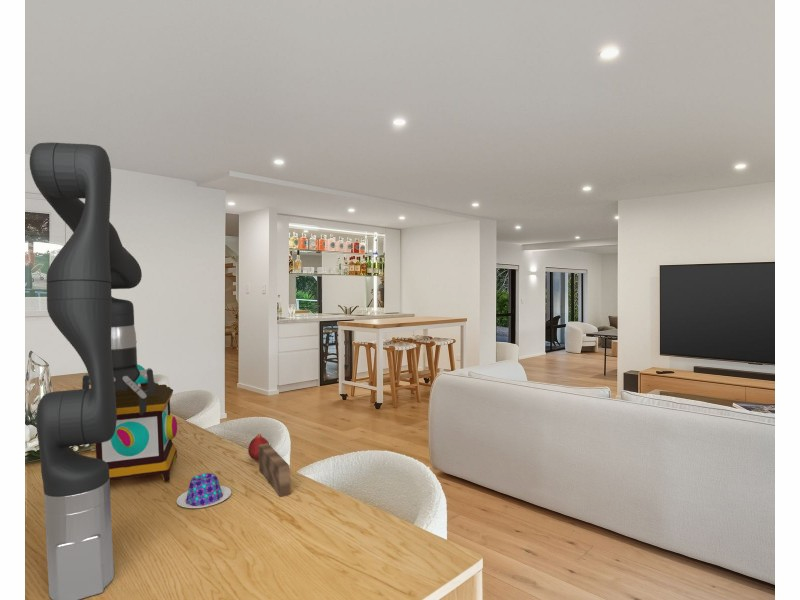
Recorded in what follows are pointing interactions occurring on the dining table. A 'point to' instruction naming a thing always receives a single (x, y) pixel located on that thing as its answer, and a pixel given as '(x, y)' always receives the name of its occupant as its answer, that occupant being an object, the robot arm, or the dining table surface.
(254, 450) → the onion
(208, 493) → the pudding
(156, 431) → the decorative lantern
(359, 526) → the dining table surface
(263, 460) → the walnut board
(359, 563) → the dining table surface
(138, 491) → the dining table surface
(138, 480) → the dining table surface
